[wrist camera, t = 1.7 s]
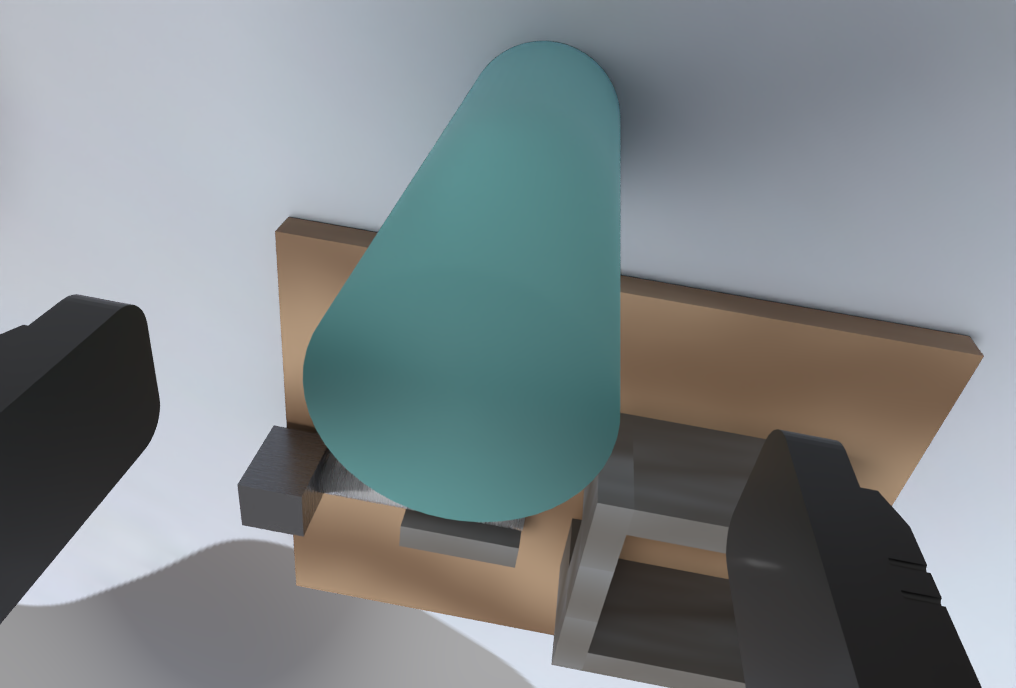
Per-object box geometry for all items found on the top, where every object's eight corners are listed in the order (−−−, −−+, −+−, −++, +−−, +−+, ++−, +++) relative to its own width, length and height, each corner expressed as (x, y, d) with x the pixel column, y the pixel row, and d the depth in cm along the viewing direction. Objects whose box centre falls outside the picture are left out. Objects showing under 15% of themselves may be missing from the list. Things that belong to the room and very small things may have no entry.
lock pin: (274, 424, 24) (237, 485, 22) (532, 472, 24) (523, 538, 22) (277, 463, 25) (242, 524, 23) (525, 509, 25) (515, 576, 23)
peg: (475, 28, 18) (296, 238, 8) (635, 55, 18) (655, 302, 8) (460, 181, 20) (307, 492, 10) (603, 206, 20) (586, 545, 10)
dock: (288, 217, 21) (209, 302, 17) (969, 336, 21) (1056, 454, 17) (305, 565, 30) (256, 676, 26) (780, 657, 30) (805, 785, 26)
